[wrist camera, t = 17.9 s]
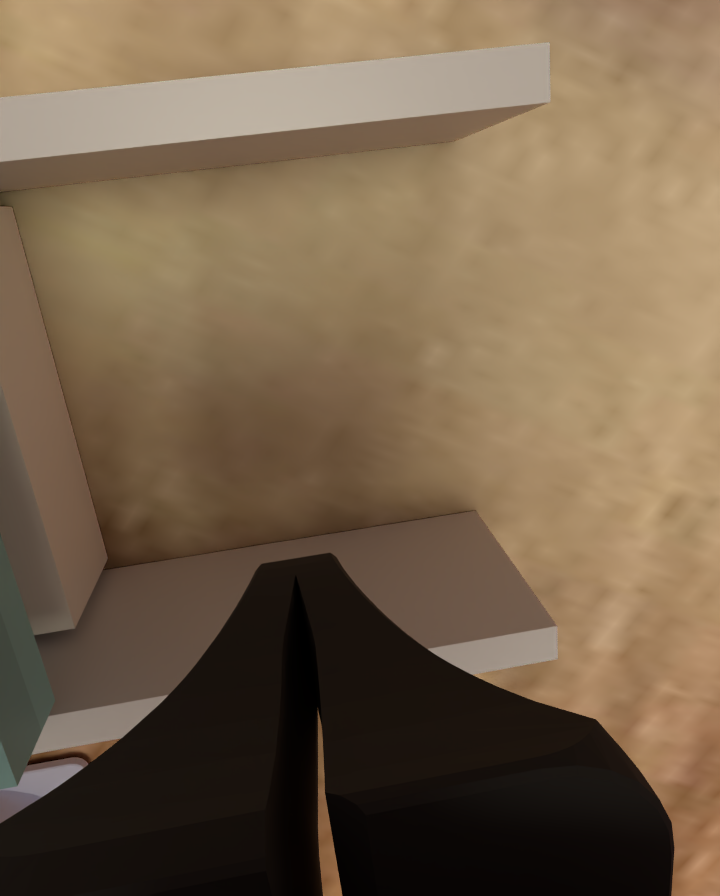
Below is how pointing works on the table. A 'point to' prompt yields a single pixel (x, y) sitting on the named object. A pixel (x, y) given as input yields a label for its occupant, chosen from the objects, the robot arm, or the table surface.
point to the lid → (18, 681)
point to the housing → (51, 434)
